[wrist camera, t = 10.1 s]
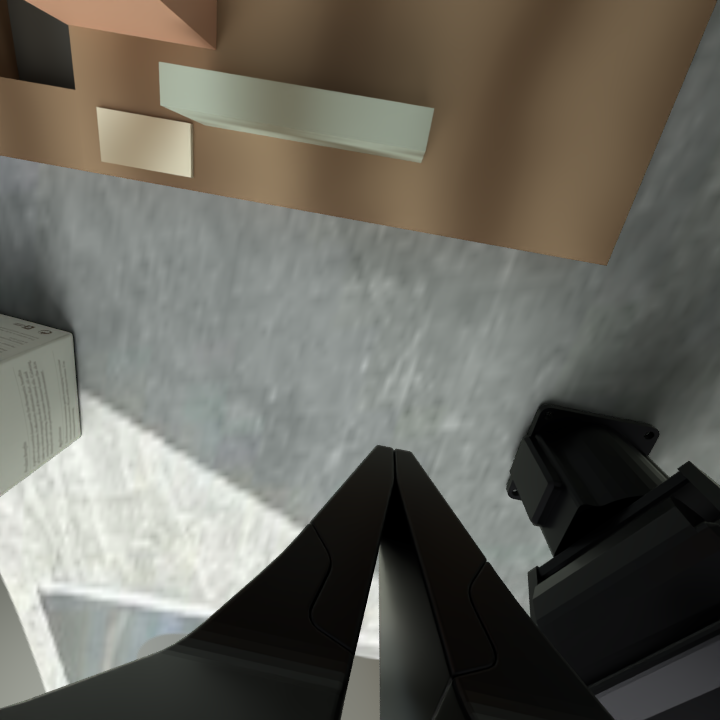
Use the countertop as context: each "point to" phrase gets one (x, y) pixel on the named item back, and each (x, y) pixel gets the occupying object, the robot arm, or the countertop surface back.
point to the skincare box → (34, 397)
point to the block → (142, 18)
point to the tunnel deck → (372, 109)
